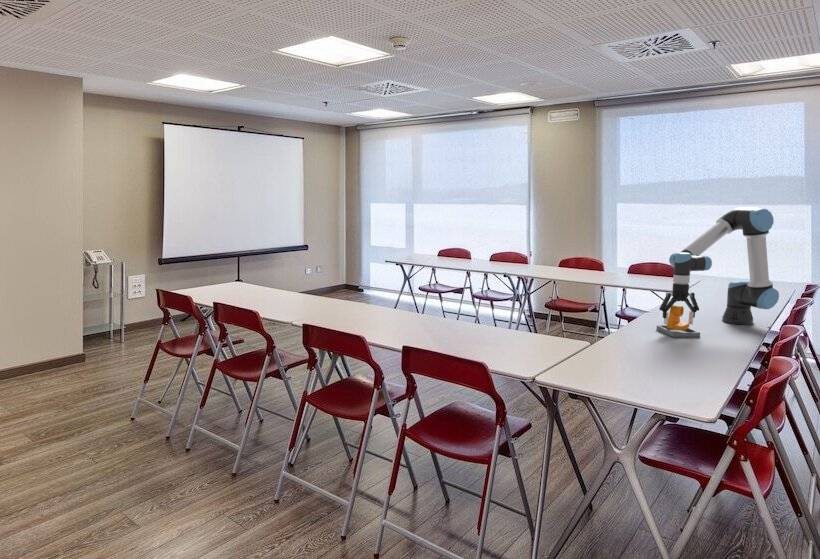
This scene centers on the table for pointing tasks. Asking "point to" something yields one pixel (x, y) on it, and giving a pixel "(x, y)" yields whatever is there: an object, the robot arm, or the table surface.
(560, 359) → the table surface
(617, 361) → the table surface
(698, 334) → the tray
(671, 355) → the table surface
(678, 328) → the bracket
